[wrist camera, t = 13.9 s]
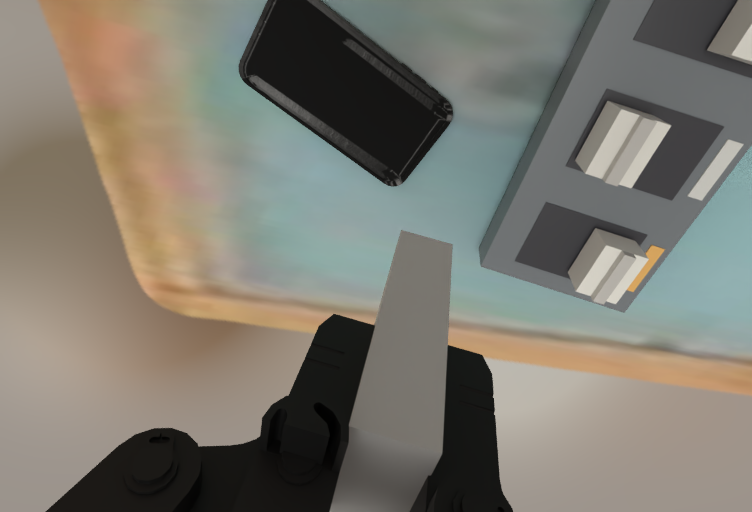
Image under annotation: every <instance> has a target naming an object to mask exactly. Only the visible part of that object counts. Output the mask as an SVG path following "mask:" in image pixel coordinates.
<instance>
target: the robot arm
mask: <svg viewBox="0 0 752 512" xmlns="http://www.w3.org/2000/svg"><path fill="white" fill-rule="evenodd" d="M451 265H452V244H449V243H446V242H442V241H439V240H435V239H431V238H428V237H424V236H421V235H417V234H413V233H410V232H406V231H403V230H401V233H400V236H399V240H398V243H397V247H396V250H395V254H394V257H393V261H392V264H391V267H390V271H389V274H388V278H387V281H386V285H385V288H384V292H383V295H382V299H381V302H380V306H379V310H378V313H377V317H376V321H375V324H374V325H371V324H368V323H364V322H361V321H357V320H354V319H350V318H347V317H343V316H340V315H336V314H333V315H332V316H331V317H330V318H328V319H327V320H326V321H325V322H323V323H322V324H321V325H320V326H319V327H318V330H317V332H316V334H315V336H314V339H313V341H312V344H311V346H310V348H309V350H308V353H307V355H306V357H305V360H304V362H303V364H302V366H301V369H300V371H299V373H298V375H297V378H296V380H295V382H294V385H293V387H292V389H291V392H290V394H289V396H285V397H284V398H282V399H281V400H279V401H277V402H276V403H274V404H273V405H271V407H270V408H269V409H268V411H267V412H266V414H265V415H264V416H263V418H262V426H261V435H260V437H259V438H257V439H255V440H253V441H250V442H247V443H244V444H238V445H231V446H202V447H198V444H197V443H196V442H195V441H194V440H193V439H192V438H191V437H190V436H189V435H188V434H187V433H184V432H182V431H179V430H175V429H173V428H154V429H151V430H148V431H145V432H142V433H139V434H136V435H134V436H133V437H131V438H130V439H128V440H127V441H125V442H124V443H122V444H121V445H119V446H118V447H117V448H116V449H115V450H113V451H112V452H111V453H110V454H109V455H108V456H107V457H106V458H105V459H103V460H102V461H101V462H100V463H99V464H98V465H97V466H96V467H95V468H94V469H92V470H91V471H90V472H89V473H88V474H87V475H86V476H85V477H83V478H82V479H81V480H80V481H79V482H78V483H77V484H76V485H75V486H74V487H72V488H71V489H70V490H69V491H68V492H67V493H66V494H65V495H64V496H62V498H60V499H59V500H58V501H57V502H56V503H55V504H54V505H53V506H51V507H50V508H49V509H48V510H47V511H46V512H513V510H512V508H511V506H510V504H509V503H508V501H507V500H506V498H505V496H504V495H503V492H502V489H501V484H500V478H499V465H498V450H497V436H496V422H495V415H494V411H495V408H494V398H493V380H492V373H491V371H490V369H489V368H488V366H487V364H486V362H485V360H484V358H483V356H482V355H480V354H477V353H473V352H470V351H467V350H463V349H460V348H456V347H453V346H449V345H448V327H449V306H450V285H451Z"/></svg>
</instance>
